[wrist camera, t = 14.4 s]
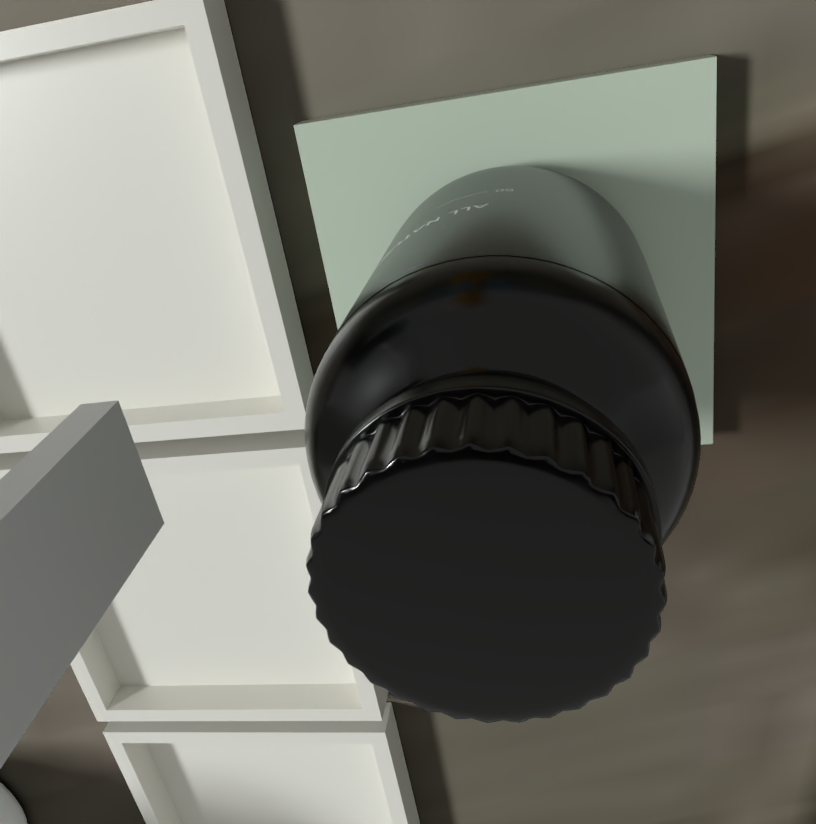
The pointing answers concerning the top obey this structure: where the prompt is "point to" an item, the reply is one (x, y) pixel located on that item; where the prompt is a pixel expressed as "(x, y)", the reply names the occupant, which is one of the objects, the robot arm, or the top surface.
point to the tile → (549, 149)
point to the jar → (10, 808)
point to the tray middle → (222, 596)
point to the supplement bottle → (500, 453)
